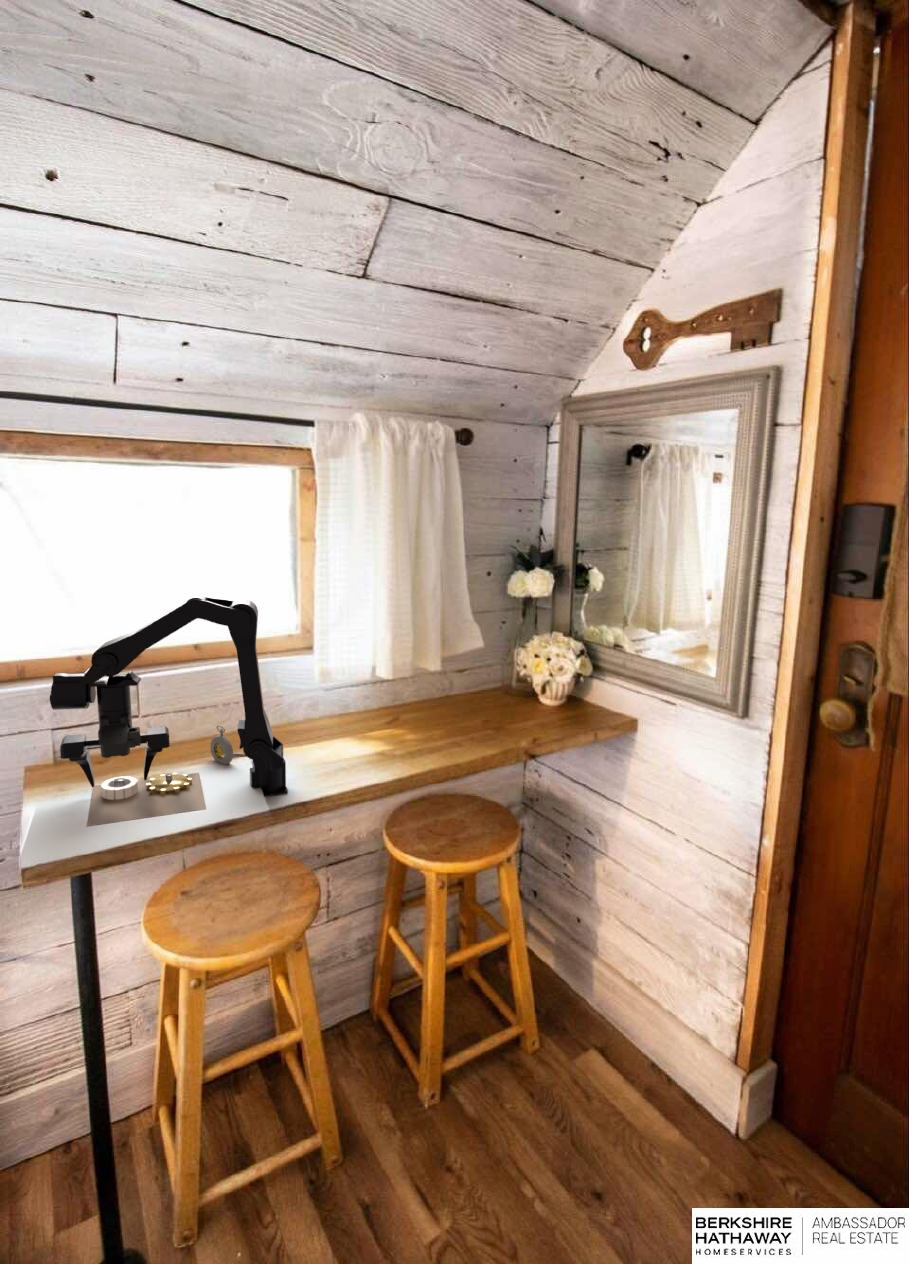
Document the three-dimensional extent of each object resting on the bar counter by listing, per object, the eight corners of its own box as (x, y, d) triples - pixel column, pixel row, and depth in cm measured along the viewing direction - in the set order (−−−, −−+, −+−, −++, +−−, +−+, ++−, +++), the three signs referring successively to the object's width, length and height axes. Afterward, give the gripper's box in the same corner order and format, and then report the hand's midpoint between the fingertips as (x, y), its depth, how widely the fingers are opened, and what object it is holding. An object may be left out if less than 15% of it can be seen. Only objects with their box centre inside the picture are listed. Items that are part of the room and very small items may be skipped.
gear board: (199, 779, 145) (199, 772, 145) (206, 816, 129) (206, 808, 129) (93, 792, 137) (93, 785, 137) (87, 834, 121) (86, 826, 121)
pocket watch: (253, 757, 158) (252, 716, 156) (243, 772, 149) (242, 729, 147) (217, 757, 157) (216, 715, 155) (205, 771, 149) (204, 728, 147)
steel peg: (125, 789, 136) (125, 777, 135) (125, 793, 134) (124, 781, 133) (114, 791, 135) (113, 778, 134) (114, 795, 133) (113, 782, 132)
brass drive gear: (190, 775, 143) (190, 764, 143) (193, 791, 136) (192, 780, 136) (146, 780, 140) (145, 770, 139) (146, 797, 132) (145, 786, 132)
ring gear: (138, 783, 138) (137, 774, 138) (137, 796, 133) (137, 787, 132) (102, 788, 136) (102, 778, 135) (100, 801, 130) (100, 791, 130)
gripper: (53, 725, 120) (60, 807, 123) (168, 715, 127) (172, 792, 131) (60, 706, 130) (66, 783, 133) (166, 698, 137) (170, 770, 140)
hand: (119, 782), depth 134 cm, fingers open, 9 cm apart
